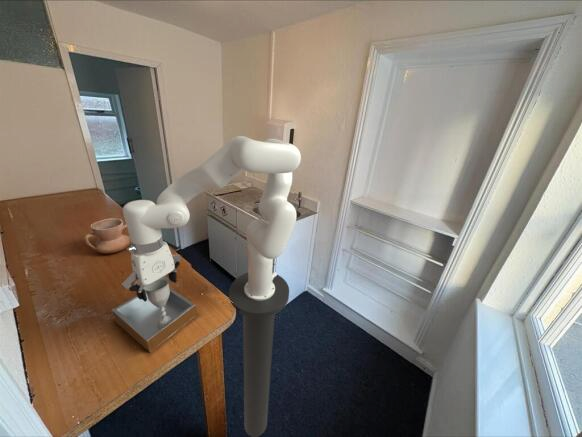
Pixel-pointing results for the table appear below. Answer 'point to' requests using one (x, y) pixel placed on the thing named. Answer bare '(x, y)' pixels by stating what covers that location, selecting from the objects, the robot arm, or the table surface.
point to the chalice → (159, 297)
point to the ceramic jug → (108, 236)
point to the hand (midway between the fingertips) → (159, 289)
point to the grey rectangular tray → (154, 318)
